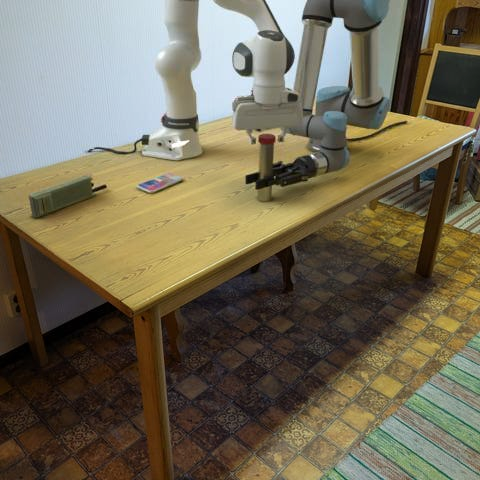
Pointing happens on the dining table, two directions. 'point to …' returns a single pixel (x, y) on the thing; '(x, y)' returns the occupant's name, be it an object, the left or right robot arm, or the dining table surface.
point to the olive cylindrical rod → (265, 169)
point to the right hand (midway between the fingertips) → (251, 182)
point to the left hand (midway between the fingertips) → (266, 142)
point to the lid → (266, 139)
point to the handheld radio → (62, 195)
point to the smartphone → (159, 182)
